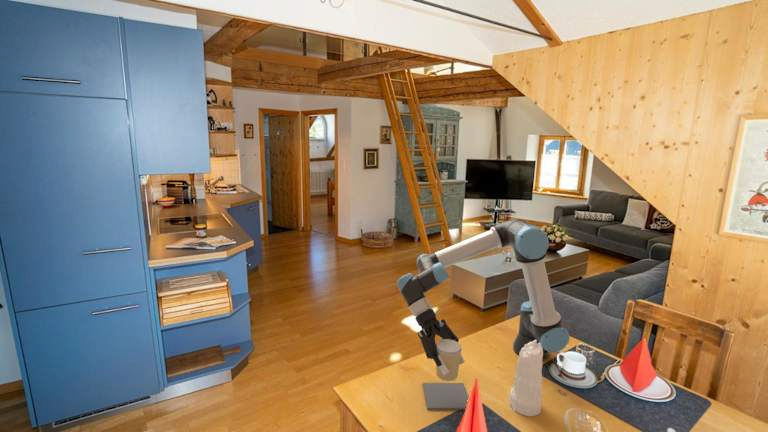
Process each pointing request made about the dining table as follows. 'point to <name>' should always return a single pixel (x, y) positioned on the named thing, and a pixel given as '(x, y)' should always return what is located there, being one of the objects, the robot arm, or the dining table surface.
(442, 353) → the coffee cup
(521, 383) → the decorative vase
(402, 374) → the dining table surface
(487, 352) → the dining table surface
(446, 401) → the charcoal mat
